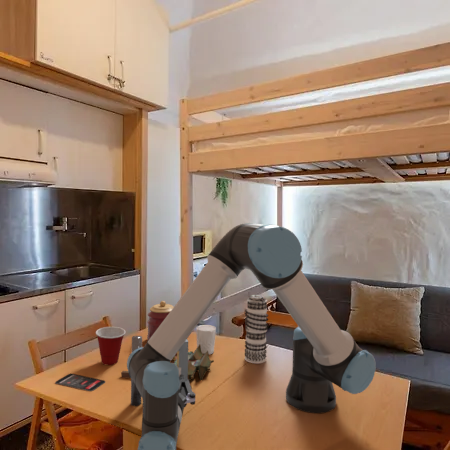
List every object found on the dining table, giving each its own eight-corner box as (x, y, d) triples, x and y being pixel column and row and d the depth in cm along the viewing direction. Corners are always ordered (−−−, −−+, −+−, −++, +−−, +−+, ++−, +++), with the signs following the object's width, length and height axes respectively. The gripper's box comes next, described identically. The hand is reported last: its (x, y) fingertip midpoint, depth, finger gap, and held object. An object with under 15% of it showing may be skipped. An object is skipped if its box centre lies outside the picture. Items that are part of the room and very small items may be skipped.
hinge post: (142, 401, 112) (143, 335, 112) (139, 406, 109) (140, 339, 109) (132, 400, 112) (133, 335, 112) (129, 406, 109) (130, 338, 109)
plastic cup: (111, 370, 133) (111, 337, 132) (88, 364, 138) (89, 332, 137) (131, 360, 143) (131, 329, 142) (109, 354, 147) (110, 324, 147)
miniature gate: (144, 344, 151) (217, 344, 146) (145, 357, 151) (218, 358, 147) (116, 372, 124) (204, 373, 120) (116, 389, 124) (205, 390, 120)
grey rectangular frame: (147, 404, 111) (148, 344, 110) (146, 400, 113) (147, 341, 112) (187, 399, 114) (188, 341, 113) (185, 395, 116) (186, 338, 116)
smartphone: (91, 390, 117) (54, 382, 122) (91, 392, 117) (54, 384, 122) (106, 380, 124) (70, 373, 129) (106, 383, 124) (70, 375, 129)
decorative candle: (238, 357, 148) (240, 295, 147) (257, 352, 153) (259, 292, 152) (253, 365, 140) (254, 300, 139) (271, 360, 145) (273, 297, 144)
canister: (167, 333, 174) (167, 296, 173) (182, 341, 164) (183, 301, 163) (142, 339, 166) (142, 299, 165) (156, 347, 156) (157, 306, 155)
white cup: (194, 349, 155) (194, 325, 155) (212, 347, 158) (212, 324, 157) (198, 356, 148) (198, 331, 147) (217, 354, 150) (218, 330, 150)
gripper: (139, 428, 89) (157, 383, 113) (193, 430, 89) (199, 384, 113) (140, 397, 89) (157, 359, 113) (194, 399, 89) (200, 360, 113)
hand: (178, 371), depth 113 cm, fingers closed
